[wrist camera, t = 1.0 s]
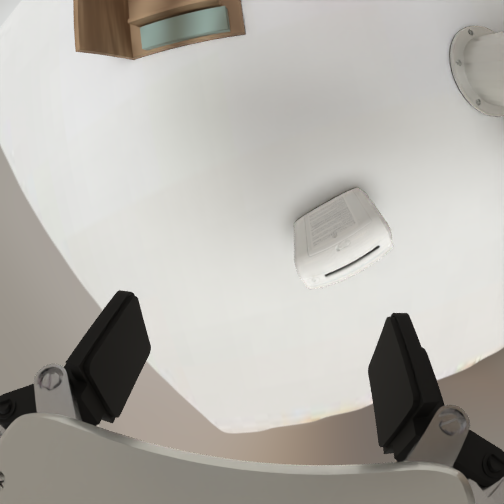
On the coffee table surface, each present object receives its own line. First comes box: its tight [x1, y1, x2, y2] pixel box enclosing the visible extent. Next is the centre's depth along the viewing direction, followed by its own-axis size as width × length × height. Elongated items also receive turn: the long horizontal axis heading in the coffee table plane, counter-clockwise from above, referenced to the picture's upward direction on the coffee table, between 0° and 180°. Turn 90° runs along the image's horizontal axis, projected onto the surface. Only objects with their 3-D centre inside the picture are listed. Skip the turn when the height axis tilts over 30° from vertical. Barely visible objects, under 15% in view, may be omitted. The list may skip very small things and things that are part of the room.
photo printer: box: [294, 188, 394, 289], centre depth 31 cm, size 10×4×12 cm, turn 125°
